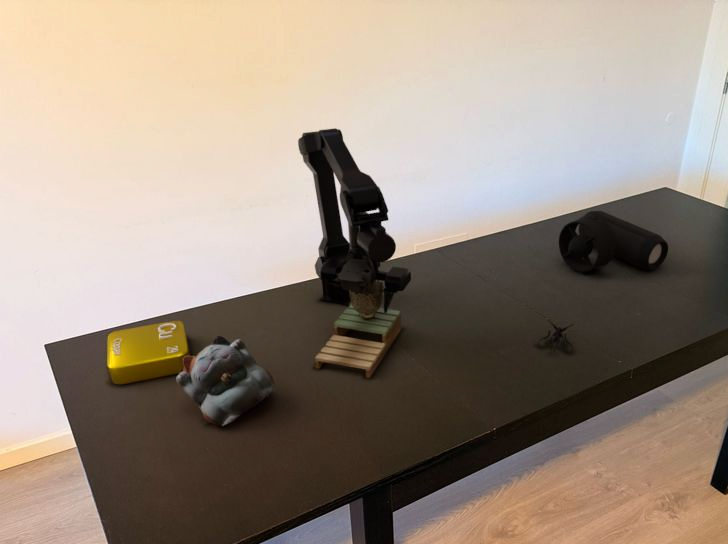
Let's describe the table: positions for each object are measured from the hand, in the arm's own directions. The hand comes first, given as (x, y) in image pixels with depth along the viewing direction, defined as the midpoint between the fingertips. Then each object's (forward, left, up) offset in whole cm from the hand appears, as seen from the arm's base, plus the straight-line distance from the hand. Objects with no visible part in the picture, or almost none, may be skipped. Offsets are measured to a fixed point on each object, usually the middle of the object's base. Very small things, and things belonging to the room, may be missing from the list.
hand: (367, 309), depth 143 cm
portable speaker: (+52, +61, -7) cm, 80 cm away
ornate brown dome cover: (0, 0, -2) cm, 2 cm away
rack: (0, -5, -7) cm, 9 cm away
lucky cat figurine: (-16, -31, -7) cm, 36 cm away
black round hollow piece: (+42, +48, -7) cm, 64 cm away
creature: (+41, +8, -7) cm, 42 cm away
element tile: (-40, -22, -7) cm, 46 cm away
